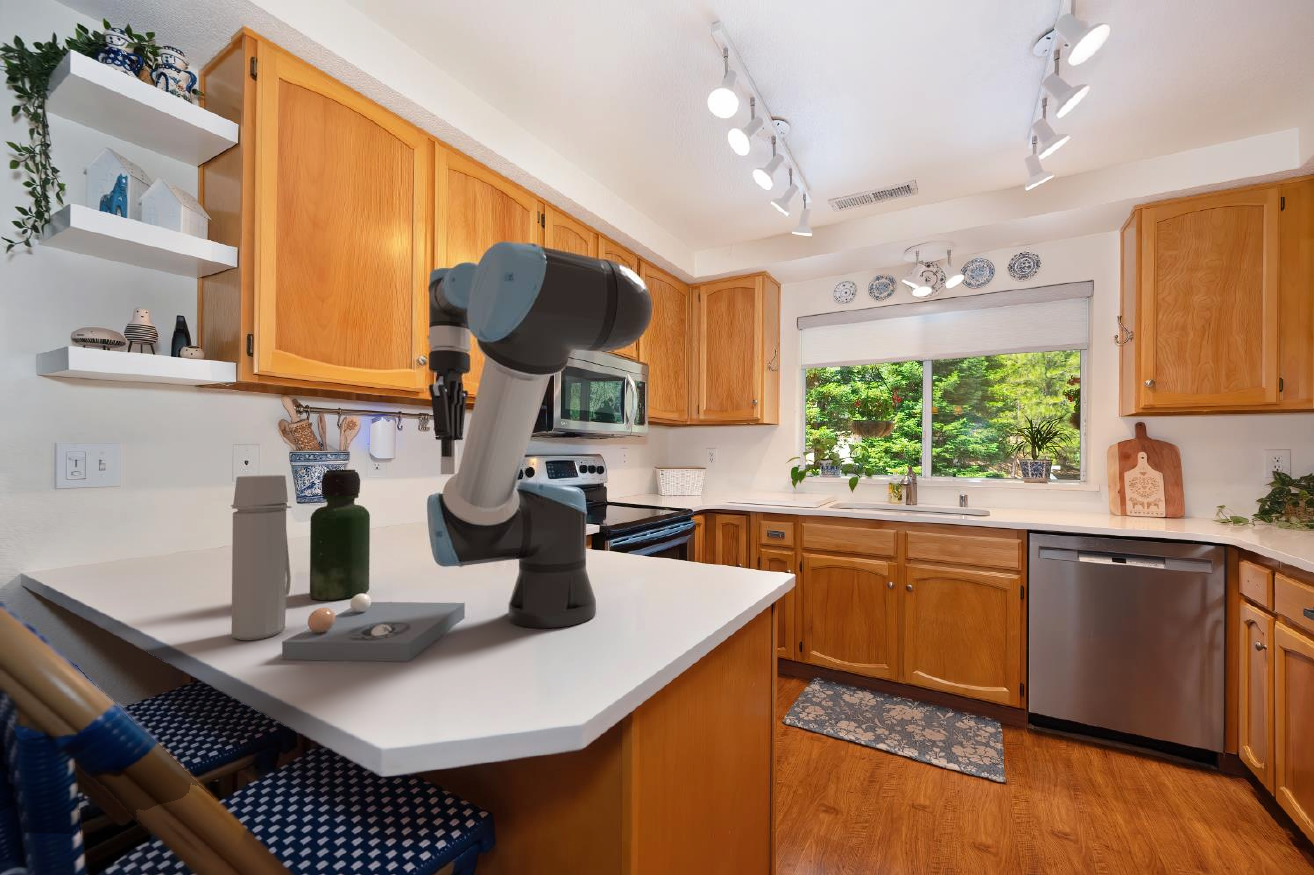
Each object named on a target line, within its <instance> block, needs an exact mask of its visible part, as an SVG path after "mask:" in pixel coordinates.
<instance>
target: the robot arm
mask: <svg viewBox="0 0 1314 875" xmlns="http://www.w3.org/2000/svg"><path fill="white" fill-rule="evenodd" d="M428 282H429V284H428V288H427V289H428V290H427V291H428V299H429V300H428V305H429V306H428V315H429V318H428V320H429V321H428V322H429V324H428V326H429V327H428V328H429V329H428V331H429V332H428V335H427V336H426V337H427V339H428V345H429V346H428V348H429V349H430V351H429V353H428V370H429V371H430V372H431V373H436V374H435V376H436V377H435V384H429V385H428V389H429V394H430V397H431V405H432V406H431V407H432V416H433V426H434V434H435V435H434V436H435V437H434V438H435V441H440V475H453V476H451V477H450V478H449V479H448V480H446V483H445V484H444V487H443V490H442V493H441V492H436V493H434V494H429V495H428V497H427V500H426V501H427V502H426V513H427V526H428V535H429V541H430V547H431V553H432V556H433V559H434V561H435V563H436V564H437V565H438V566H440V567H444V568H448V567H459V568H462V567H465V566H470V565H471V566H472V565H481V564H489V563H496V562H505V561H511V560H512V561H513V560H518V575H517V578H516V581H515V584H514V587H513V590H512V594H511V597H510V600H509V602H508V607H507V608H508V612H507V613H508V614H507V615H508V617H507V618H508V621H510V622H511V623H513V624H515V625H518V626H521V627H528V628H538V629H539V628H540V629H542V628H543V629H545V628H546V629H548V628H549V629H550V628H551V629H552V628H560V627H562V628H563V627H568V626H575V625H577V624H581V623H584V622H587V621H590V620H591V619H593V618H594V617H595V616H596V614H597V600H596V597H595V593H594V591H593V587H592V584H591V581H590V578H589V575H588V571H587V515H588V511H587V502H586V500H587V499H586V494H585V492H584V491H583V489H581V488H579V487H577V486H569V485H564V484H563V485H561V484H553V483H543V482H533V481H520V482H519V485H518V486H517V488H516V484H517V482H518V478H519V475H520V472H521V470H522V469H521V468H522V466H523V462H524V460H525V456H526V453H527V450H528V446H529V444H530V441H531V438H532V434H533V432H534V429H535V426H536V425H535V424H536V423H537V419H538V416H539V413H540V409H541V407H542V403H543V402H544V397H545V394H546V391H547V388H548V385H549V381H550V379H551V377H552V376H555V375H558V374H559V373H561V372H562V371H564V369H565V368H566V366H568V361H569V358H570V355H571V353H572V351H573V350H575V351H576V350H577V351H589V352H614V351H619V350H622V349H625V348H627V347H629V346H631V345H633V344H634V343H635V342H637V341H638V340H639V339H640V338H642V336H643V335H644V334H645V332H646V331H647V329H648V328H649V326H650V323H651V319H652V316H653V315H652V314H653V302H652V297H651V294H650V290H649V288H648V286H647V285H646V283H645V282H644V281H643V279H642V278H641V277H640V276H639V275H638V274H637V273H636V272H634V271H633V270H632V269H631V268H629V267H627V266H625V265H624V264H621V263H618V262H616V261H614V260H610V259H604V258H596V257H592V256H589V255H585V254H583V255H582V254H578V253H573V252H568V251H563V250H560V249H554V248H548V247H544V246H540V245H539V244H536V243H534V242H533V243H530V242H527V243H523V242H522V243H521V242H514V241H506V240H505V241H500V242H496V243H494V244H493V245H492V246H491V247H488V249H486V251H485V252H484V253H483V255H482V256H481V258H480V260H479V262H478V264H477V263H474V262H471V261H469V262H467V261H465V262H461V263H458V264H456V265H455V266H453V267H452V268H451V267H440V268H436V269H433V270H432V271H431V272H430V274H429V281H428ZM471 335H472V336H473V337H474V338H476V344H477V347H478V349H479V351H480V352H481V353H482V355H483V356H484V357H485V358H484V363H483V367H482V370H481V375H480V378H479V379H480V380H479V383H478V387H477V393H476V396H475V401H474V404H473V410H472V413H471V417H470V420H469V421H470V422H469V426H468V428H467V429H468V431H467V433H466V439H465V444H464V447H463V450H462V451H463V452H462V456H461V459H460V463H458V461H459V460H458V459H459V457H458V456H459V453H458V452H459V451H458V450H459V445H458V444H459V443H458V442H459V441H463V439H464V436H463V435H464V426H465V416H466V408H467V400H468V398H469V397H468V396H469V392H468V390H464V383H463V377H462V376H463V375H464V374H468V373H470V371H471V355H470V353H468V352H470V351H471V349H472V348H471V347H472V346H471ZM458 466H459V468H458Z"/></svg>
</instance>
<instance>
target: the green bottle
mask: <svg viewBox="0 0 1314 875" xmlns="http://www.w3.org/2000/svg"><path fill="white" fill-rule="evenodd" d="M320 484H321V495H322V500H325V501H326V503H327V504H326V505H324V506H320V507H318V508H316V509H315V510H314V511H313V512H312V514H311V516H310V526H309V528H310V529H309V532H310V533H309V535H310V538H309V543H310V544H309V548H310V549H309V597H310V598H312V599H315V600H318V601H319V600H320V601H338V600H346V599H352V598H353V597H354V596H356V595H357V594H366V593H367V592H368V591H369V590H370V551H371V550H370V544H371V542H370V538H371V536H370V534H371V532H370V531H371V529H370V527H371V526H370V525H371V515H370V512H369V510H368V509H367V508H366V507H365V506H362V505H361V504H355V500H356V499H358V498H359V494H360V493H361V492H360V490H361V479H360V474H359V472H357V471H356V469H328V470H327V469H326V472H323V475H322V478H321V483H320Z"/></svg>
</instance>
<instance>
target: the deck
mask: <svg viewBox="0 0 1314 875" xmlns="http://www.w3.org/2000/svg"><path fill="white" fill-rule="evenodd" d="M465 604H466V602H419V601H418V602H414V601H413V602H411V601H410V602H408V601H407V602H406V601H402V602H401V601H398V602H397V601H371V605H370V607H369V608H368V609H367V610H366V611H364V612H361V613H358V612H355V611H353V610H352V608H351V607H350V608H349V609H347V610H344V611H342V612H340V613H337V614H336V615H335V623H334V625H333V626H332V628H331V629H329V630H328V631H326V632H323V633H316V632H313V631H312V630H310V628H309V627H308V628H307V629H305V630H303V631H301V632H299V633H296V634H294V635H292V636H291V637H289V638H287V639H285V640H283V641H282V642H281V643H282V644H281V648H282V650H281V654H282V655H281V660H284V661H285V660H288V661H291V660H293V661H294V660H295V661H349V662H350V661H353V662H355V661H356V662H360V661H361V662H404V663H405V662H410V661H411V660H412V659H414V658H415V657H416V656H417V655H419V654H420V653H421V652H423V651H424V650H425V649H427V648H428V647H429V646H430V645H432V644H433V643H434V642H435V641H437V640H438V639H439V638H441V636H443V635H444V634H445V633H447V632H448V631H449V630H451V629H452V628H453V627H454V626H455V625H457V624H458V623H460V622H461V621H462V620H463V619H465V615H466V614H465V610H466V609H465ZM378 625H388V626H389V627H391V629H392V630H393V632H391V633H388V634H384V635H378V636H370V633H371V631H372V630H373V628H375V627H376V626H378Z"/></svg>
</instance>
